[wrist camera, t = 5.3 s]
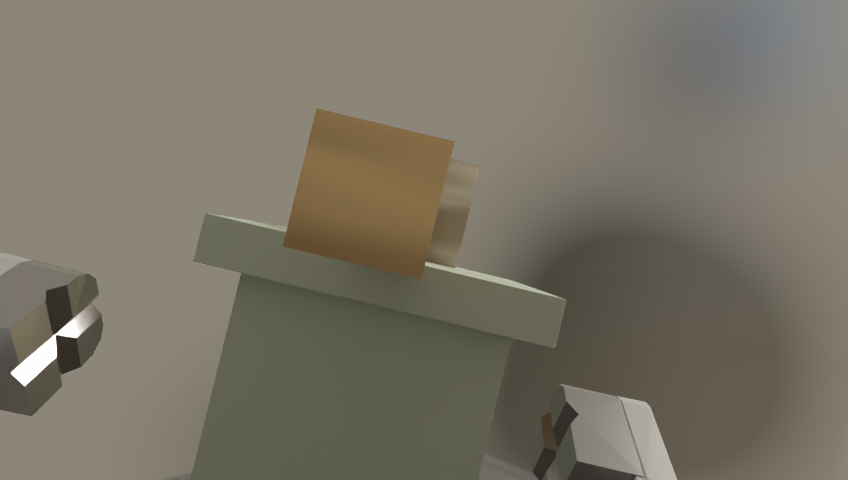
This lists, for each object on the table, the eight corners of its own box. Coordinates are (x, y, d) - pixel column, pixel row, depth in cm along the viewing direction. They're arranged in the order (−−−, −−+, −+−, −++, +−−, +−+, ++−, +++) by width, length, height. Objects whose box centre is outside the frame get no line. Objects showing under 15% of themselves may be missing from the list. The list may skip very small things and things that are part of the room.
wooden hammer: (513, 301, 11) (578, 26, 11) (190, 223, 11) (258, -50, 11) (452, 266, 32) (474, 173, 33) (343, 240, 32) (365, 147, 33)
